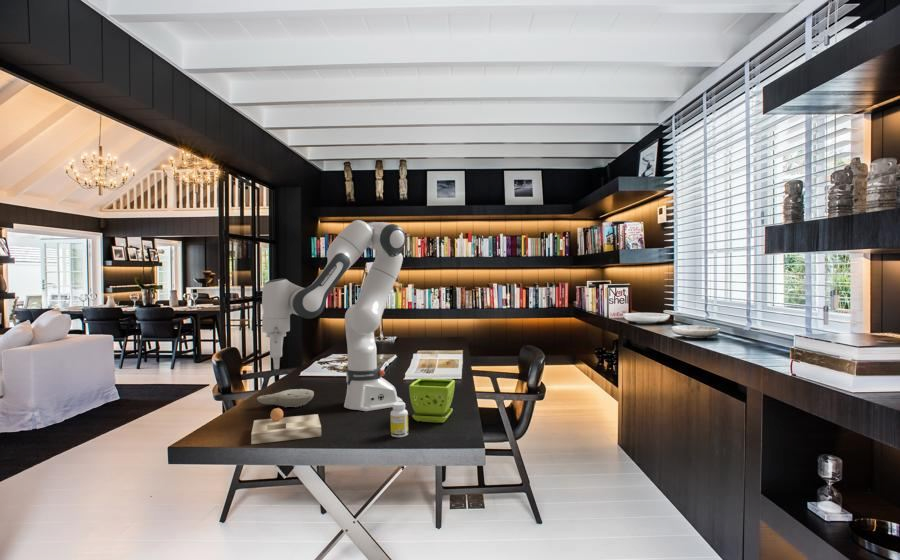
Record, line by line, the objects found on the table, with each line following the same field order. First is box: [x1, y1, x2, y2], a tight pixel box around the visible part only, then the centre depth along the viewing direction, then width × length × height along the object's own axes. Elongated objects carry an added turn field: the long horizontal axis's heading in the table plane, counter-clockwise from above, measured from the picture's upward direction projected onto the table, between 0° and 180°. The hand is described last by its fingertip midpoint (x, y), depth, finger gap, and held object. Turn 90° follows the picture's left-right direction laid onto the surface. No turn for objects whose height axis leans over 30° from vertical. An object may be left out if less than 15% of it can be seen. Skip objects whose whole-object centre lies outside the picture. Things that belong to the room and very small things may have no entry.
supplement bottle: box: [390, 401, 409, 438], centre depth 148 cm, size 5×5×10 cm
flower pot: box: [408, 378, 456, 424], centre depth 165 cm, size 14×14×13 cm
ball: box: [269, 407, 284, 421], centre depth 154 cm, size 4×4×4 cm
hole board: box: [250, 413, 322, 445], centre depth 151 cm, size 20×15×3 cm
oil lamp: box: [256, 388, 315, 408], centre depth 184 cm, size 21×14×5 cm
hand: (276, 367), depth 161 cm, fingers open, 6 cm apart
